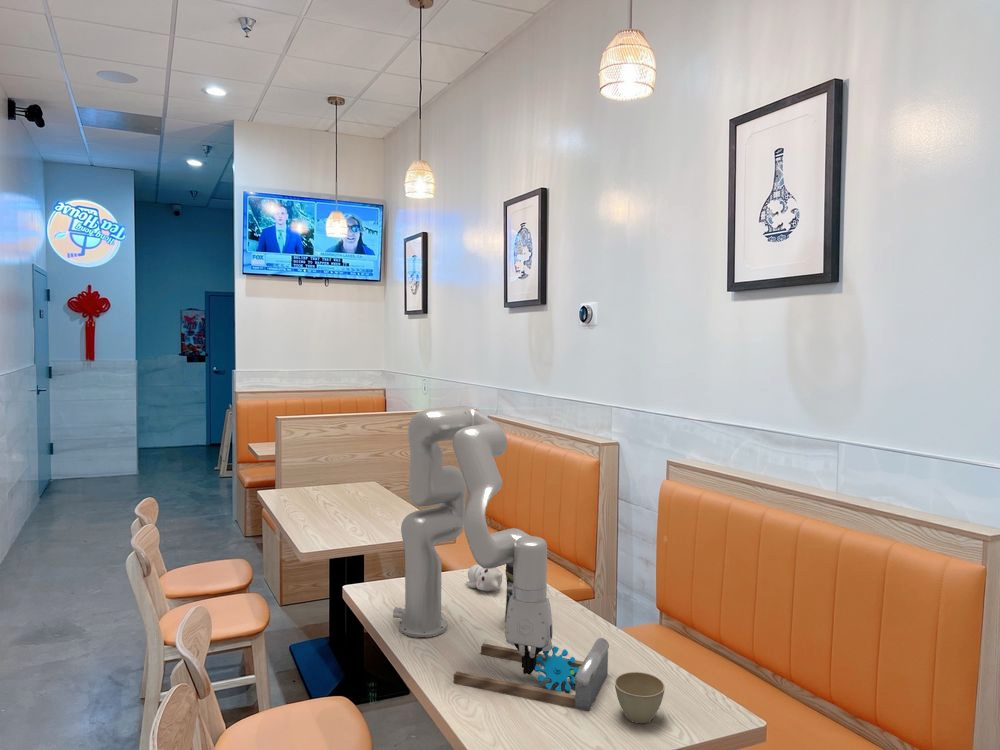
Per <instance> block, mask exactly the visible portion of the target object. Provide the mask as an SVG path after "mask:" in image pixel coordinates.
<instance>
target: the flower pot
mask: <svg viewBox="0 0 1000 750" xmlns="http://www.w3.org/2000/svg"><path fill="white" fill-rule="evenodd" d="M614 687H615V688H614V690H615V693H616V697H617V700H618V703H619V705H620V708H621V710H622V712H623V714H624V715H625V717H626V719H627V720H628V721H630V720H631V721H630V722H632V721H633V722H632V723H634V722H637V723H636V724H638V723H645V724H647V723H646V722H648V723H650V722H651V721H652V720H653V718H654V717H655V716H656V714H657V713H658V710H659V709H660V707H661V704H662V701H663V700H664V699H663V698H664V694H665V688H666V686H665V683H664V682H663V680H662V679H660V678H659V677H657V676H656V675H654V674H651V673H649V672H648V673H647V672H643V671H642V672H641V671H628V672H623V673H621V674H619V675H617V677H615V679H614ZM649 721H650V722H649Z"/></svg>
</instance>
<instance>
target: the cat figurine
mask: <svg viewBox="0 0 1000 750" xmlns="http://www.w3.org/2000/svg"><path fill="white" fill-rule="evenodd" d="M467 578H468V580H469V581H468V582H467V585H468V587H469V588H470V587H471V589H477V590H479V591H480V590H481V591H483V592H492V591H496V590H498V589H500V587H501V585H502V582H503V573H502V572H501V571H500V569H499V568H498V567H496V568H492V569H485V568H483V567H481V566H480V565H479V564H478V563H477V562H476V564H473V565H472V566H471V567H470V568H469V569H468V570H467Z"/></svg>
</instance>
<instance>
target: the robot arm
mask: <svg viewBox="0 0 1000 750" xmlns="http://www.w3.org/2000/svg"><path fill="white" fill-rule="evenodd" d="M407 438H408V440H407V441H408V445H409V452H410V453H409V474H408V478H409V479H408V496H409V500H410V502H411V504H413V505H415V506H417V507H427V506H434V505H437V504H438V506H434V507H430V508H429V507H428V508H424V509H419V510H415V511H413V512H410V513H408V515H406V516H405V517H404V518H403V520H402V522H401V525H400V531H401V538H402V543H403V551H404V571H405V572H404V573H405V574H404V575H405V576H404V578H405V579H404V581H405V583H404V592H405V593H404V594H405V595H404V596H405V598H404V599H405V600H404V602H405V603H404V604H405V605H404V608H402V607H397V606H395V607H394V608H393V614H392V618H393V619H394V618H395V619H400V620H401V622H399V625H398V626H399V632H400V633H401V632H402V633H401V634H403V633H404V634H405V636H407V635H408V636H407V637H410V636H411V637H410V638H416V637H426V638H431V637H432V636H433V637H436V636H439V635H442V634H443V633H444V632H445V631H446V630H447V629H448V622H447V620H446V619H445V618H443V617H442V560H441V557H440V555H439V553H438V552H437V550H436V548H435V545H438V544H441V543H444V542H445V543H446V542H449V541H452V540H455V539H457V538H458V537H459V536H460V535H461V534H462V532H463V530H464V535H465V537H466V541H467V543H468V547H469V551H470V552H471V554H472V557H473V559H474V561H475V562H476V564H477V563H478V564H479V565H480V566H481V567H483V568H485V569H492V568H498V567H502V566H504V565H505V566H506V564H508V563H513V562H514V573H513V584H509V585H508V590H510V591H512V596H511V597H510V599H509V603H508V609H507V616H506V623H505V626H504V629H505V631H504V636H505V637H504V638H505V640H506V643H507V644H509V645H512V646H514V647H515V649H516V650H518V651H519V652H520V655H521V656H522V662H521V668H522V670H523V671H522V673H523V675H524V674H525V675H528V676H531V675H532V673H533V672H535V671H534V670H535V666H536V665H537V664H536V655H537V654H541V652H543V651H549V652H550V651H551V650H552V648H553V647H554V646H553V642H552V639H553V631H554V630H553V614H552V607H551V603H550V598H548V597H547V595H548V594H547V587H548V585H547V584H548V583H547V581H548V580H547V579H548V544H547V541H546V540H545V539H544V538H542V537H539V536H537V535H536V536H532V535H531V534H529V533H526V532H525V531H523V530H522V529H519V528H517V527H513V528H507V529H504V530H500V531H497V532H492V533H490V531H489V528H488V524H487V519H486V513H487V512H486V511H487V507H488V504H489V503H490V501H491V499H492V498H493V496H495V494H497V493H498V492H499V491H500V490H501V488H502V487H503V479H502V476H501V474H500V471H499V469H498V466H497V463H496V460H495V458H496V457H500V456H502V455H503V454H505V452H506V450H507V447H508V439H507V435H506V432H505V431H504V430H503V428H502V427H501V426H500V425H499V424H498V423H497V422H495V421H494V420H492V419H491V418H489V417H488V416H486V415H484V414H483V413H482V412H480V411H478V410H476V409H475V408H473V407H470V406H467V405H466V406H464V405H462V406H460V405H459V406H448V407H445V406H443V407H434V408H428V409H424V410H421V411H417V413H415V414H414V415H413V416H412V417H411V419H410V420H409V423H408V426H407ZM446 441H452V448H453V451H454V454H455V457H456V459H457V463H458V465H459V468H460V469H459V468H458V467H456V466H453V465H443V461H444V460H443V459H444V455H443V451H442V447H441V446H440V444H439V443H438V442H446ZM466 491H468V492H466ZM467 493H468V500H467V502H466V499H467V498H466V495H467ZM404 634H403V635H404ZM529 647H530V648H529Z"/></svg>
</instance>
